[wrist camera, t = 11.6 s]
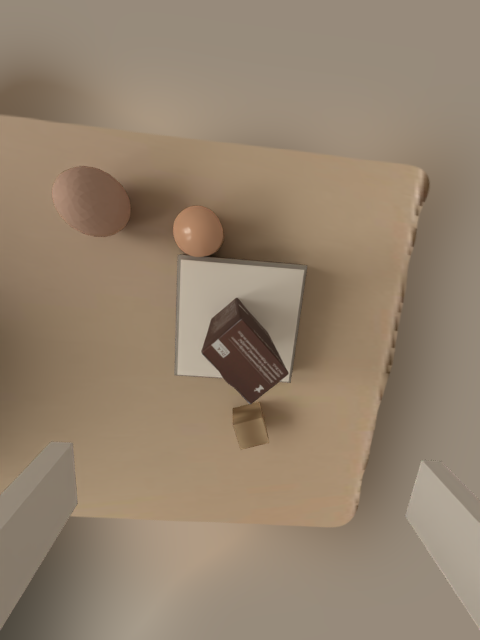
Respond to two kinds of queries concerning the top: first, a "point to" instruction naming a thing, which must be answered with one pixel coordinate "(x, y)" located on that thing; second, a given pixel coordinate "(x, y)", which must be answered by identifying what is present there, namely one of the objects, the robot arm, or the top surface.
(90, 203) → the egg
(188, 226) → the tan round piece
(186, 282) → the podium
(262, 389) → the box
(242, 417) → the oak block
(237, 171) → the top surface
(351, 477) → the top surface
